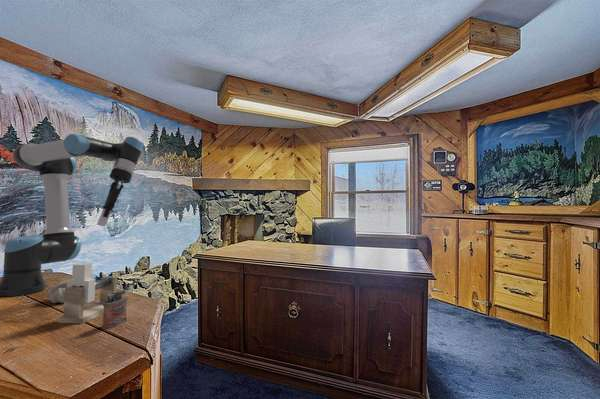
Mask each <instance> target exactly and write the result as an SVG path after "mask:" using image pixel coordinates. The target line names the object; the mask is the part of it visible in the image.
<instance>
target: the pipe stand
mask: <svg viewBox="0 0 600 399" xmlns="http://www.w3.org/2000/svg"><path fill="white" fill-rule="evenodd" d="M98 290H100V292H99V295H100V296H99V297H100V298H99V300H97V301H95V302H92V303H89V304H88V305H85V306H84V304H85V303H84V286H79V287H68V288H65V297H64V303H63V315H61V316H58V317H57V323H61V324H64V323H65V324H84V323H87V322H89V321H91V320H92V319H95V318H97V317H98V316H99V317H100V316H101V315H103V312H104V306H103V303H104V302H106V301H108V299H107V296H108V295H109V294H111V293H112V292H118V291H117V290H118V276H106V275H104V276H102V277H101V276H100V279H98V280H95V291H98Z"/></svg>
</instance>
